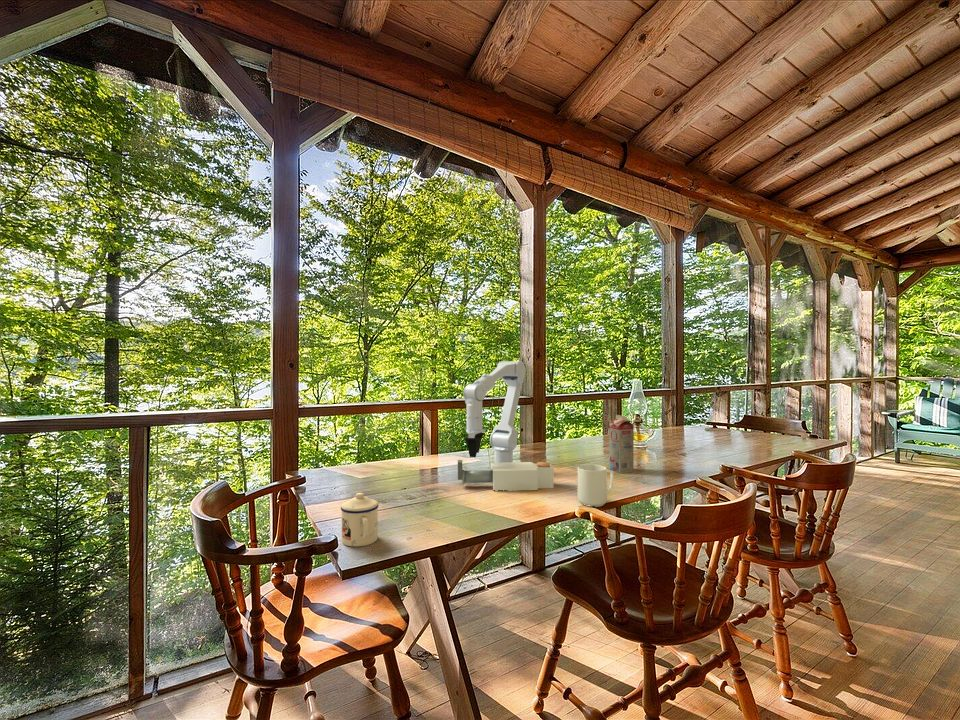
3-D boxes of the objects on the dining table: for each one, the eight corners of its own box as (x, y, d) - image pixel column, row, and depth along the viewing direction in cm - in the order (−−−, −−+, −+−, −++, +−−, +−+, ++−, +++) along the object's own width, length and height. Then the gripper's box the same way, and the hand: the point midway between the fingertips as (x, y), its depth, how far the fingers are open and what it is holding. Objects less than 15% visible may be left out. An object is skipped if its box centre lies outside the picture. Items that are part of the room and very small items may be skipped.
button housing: (490, 481, 173) (490, 462, 173) (548, 481, 174) (548, 461, 174) (493, 491, 161) (493, 470, 161) (555, 490, 162) (555, 469, 162)
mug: (587, 509, 142) (587, 472, 142) (572, 500, 151) (572, 465, 150) (621, 505, 146) (621, 468, 146) (604, 496, 154) (604, 462, 154)
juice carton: (619, 473, 185) (619, 416, 185) (609, 469, 191) (609, 414, 191) (633, 471, 187) (633, 416, 187) (623, 468, 194) (623, 414, 193)
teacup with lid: (337, 537, 120) (337, 491, 120) (373, 531, 124) (373, 486, 124) (346, 555, 110) (346, 504, 109) (385, 548, 113) (385, 499, 113)
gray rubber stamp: (457, 481, 168) (457, 459, 168) (492, 481, 169) (492, 459, 169) (457, 485, 164) (457, 462, 164) (493, 485, 164) (493, 462, 164)
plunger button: (535, 472, 170) (535, 462, 170) (548, 471, 170) (548, 461, 170) (537, 475, 165) (537, 465, 165) (551, 475, 165) (551, 464, 165)
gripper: (482, 420, 164) (482, 459, 165) (487, 414, 179) (487, 451, 179) (462, 419, 165) (462, 458, 165) (469, 414, 180) (469, 450, 180)
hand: (474, 454), depth 172 cm, fingers open, 7 cm apart
